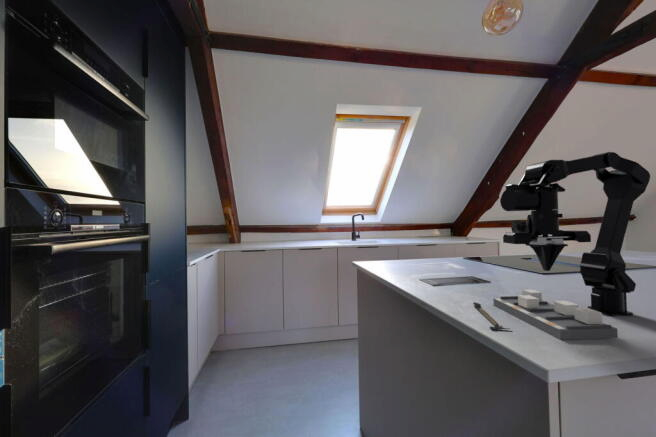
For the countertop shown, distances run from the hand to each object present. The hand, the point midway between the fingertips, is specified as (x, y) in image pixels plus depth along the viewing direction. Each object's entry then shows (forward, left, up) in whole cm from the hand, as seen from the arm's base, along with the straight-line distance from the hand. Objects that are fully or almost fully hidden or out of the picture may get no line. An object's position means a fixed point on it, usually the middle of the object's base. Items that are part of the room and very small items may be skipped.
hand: (546, 270), depth 75 cm
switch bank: (+2, +1, -12) cm, 12 cm away
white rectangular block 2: (-1, +4, -10) cm, 11 cm away
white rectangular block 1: (-1, -8, -10) cm, 12 cm away
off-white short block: (-1, +10, -10) cm, 14 cm away
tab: (+4, -2, -9) cm, 10 cm away
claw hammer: (+14, -1, -13) cm, 19 cm away
